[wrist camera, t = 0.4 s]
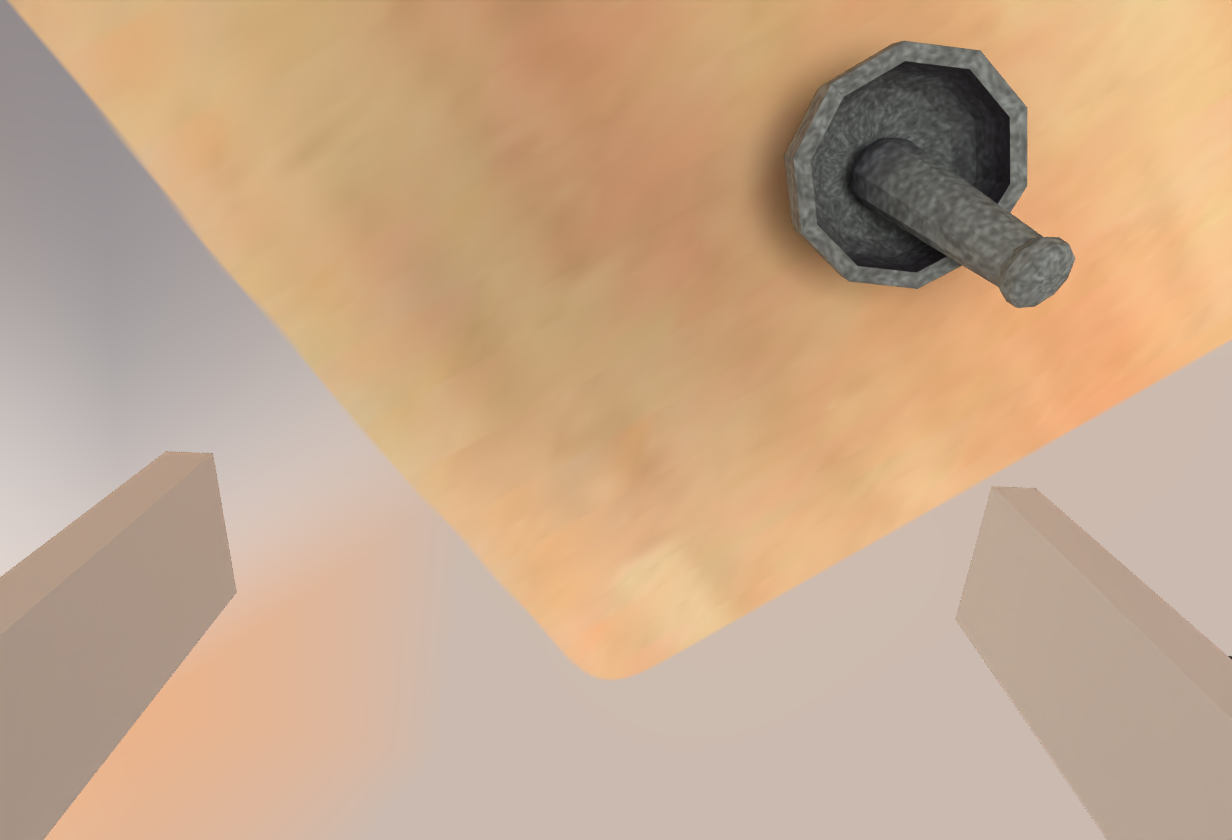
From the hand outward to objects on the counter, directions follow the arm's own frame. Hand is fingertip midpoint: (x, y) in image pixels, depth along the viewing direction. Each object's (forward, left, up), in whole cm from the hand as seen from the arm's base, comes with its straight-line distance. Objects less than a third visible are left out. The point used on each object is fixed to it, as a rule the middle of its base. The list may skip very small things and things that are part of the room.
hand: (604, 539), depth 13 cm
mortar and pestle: (-6, +13, -28) cm, 31 cm away
